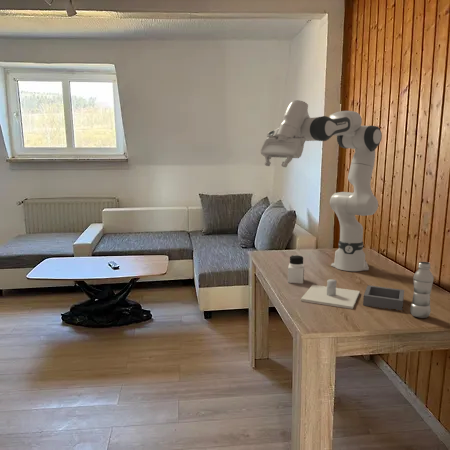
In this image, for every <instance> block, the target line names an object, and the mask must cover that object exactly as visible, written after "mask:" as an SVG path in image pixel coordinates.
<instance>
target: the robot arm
mask: <svg viewBox="0 0 450 450" xmlns="http://www.w3.org/2000/svg"><path fill="white" fill-rule="evenodd" d="M308 108H309V104H308V103H307V102H306V101H303V100H299V99H298V100H293V101H291V102H289V104H288V106H287V107H286V108H285V109H286V110H285V111H284V113H283V117H282V122H281V123H280V124H279V126H278V128H275V129H273V130H270V131H268V132H267V133H266V138H265V139H264V141H263V144H262V145H261V148H260V154H261V155H262V156H264V157H265V162H264V166H266V167H270V166H271V162H270V161H271V159H272V158H279V159H281V158H282V159H283V158H284V159H285V160H284V161H282V162H281V167H283V168H287V166H288V164H290V163H291V161H292V160H293V159H299V158H301V157H302V155H303V151H304V147H305V142H311V141H312V142H315V141H316V142H317V141H318V142H326V141H329V140H330V139H331V138H332V137H333V136H336V142H337V144H338V146H339V147H340V148H343V149H348V150H349V149H350V150H351V149H352V150H354V153H353V156H352V159H351V163H350V166H349V170H348V174H347V180H348V182H349V183H350V185H352V186H353V192H349V191H340V192H339V191H338V192H334V193H333V194H332V195H331V196H330V199H329V206H330V209H331V210H332V211H333V212H334V213H335V215H336V217H337V219H338V222H339V240H338V249H336V250H335V252H334V253H335V254H334V262H331V264H330V266H331V267H333V268H335V269H337V270H341V271H345V272H346V271H347V272H362V271H369V270H370V269H369V268H370V267H369V265H368V262H367V259H366V253H365V252H364V241H363V237H364V235H363V234H364V226H363V225H362V223H360V222H359V221H358V220H357V217H356V216H362V217H364V216H372V215H374V214H376V213H377V211H378V208H379V200H378V198H377V197H376V196H375V195H374V193H373V191H372V188H371V187H372V186H371V185H372V184H371V182H372V175H373V170H374V166H375V162H376V149H377V148H378V147H379V145H380V144H381V141H382V138H383V137H382V136H383V135H382V131H381V128H379V126H377V125H376V126H375V125H370V124H369V125H362V124H363V121H362V120H363V119H362V116H361V113H358V112H357V111H353V110H341V111H336V112H333V113H331V114H329V116H327V115H323V116H317V117H316V116H315V117H310V114H309V112H308V110H309V109H308Z"/></svg>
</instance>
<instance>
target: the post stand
mask: <svg viewBox="0 0 450 450" xmlns="http://www.w3.org/2000/svg"><path fill="white" fill-rule="evenodd" d="M326 283H327V284H326V286H325V285H320V284H319V285H318V284H311V286H310V287H309V288H308V290H307V291H306V292H305V293H304V294H303V296H302V297H301V298H300V302H305V303H309V304H310V303H311V304H317V305H324V306H332V307H336V308H337V307H338V308H341V309H342V308H343V309H350V310H353V309H354V307H355V305H356V302H357V300H358V298H359V296H360V291H361V290H356V289H355V290H354V289H347V288H340V287H337V280H336V279H327V281H326Z"/></svg>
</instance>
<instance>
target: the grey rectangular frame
mask: <svg viewBox="0 0 450 450" xmlns="http://www.w3.org/2000/svg"><path fill="white" fill-rule="evenodd" d="M404 297H405V290H404V289H399V288H391V287H384V286H377V285H367V286H366V289H365V292H364V294H363V298H362V306H366V307H371V306H372V307H374V308H378V307H379V308H380V309H385V308H388V309H387V310H391V309H397V310H396V311H398V310H402V311H403V308H402V307H403V305H404Z"/></svg>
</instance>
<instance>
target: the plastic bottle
mask: <svg viewBox="0 0 450 450" xmlns="http://www.w3.org/2000/svg"><path fill="white" fill-rule="evenodd" d="M417 267H418V269H417V270H416V271H415V273H414V274H413V296H412V300H411V301H412V302H411V304H410V308H409V309H410V314H411V315H412V316H413V317H415V318H420V319H426V318H428V317H430V315H431V293H432V287H433V283H434V278H435V277H434V275H433V273H432V271H431V263H430V262H428V261H419V262H418V266H417Z"/></svg>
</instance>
